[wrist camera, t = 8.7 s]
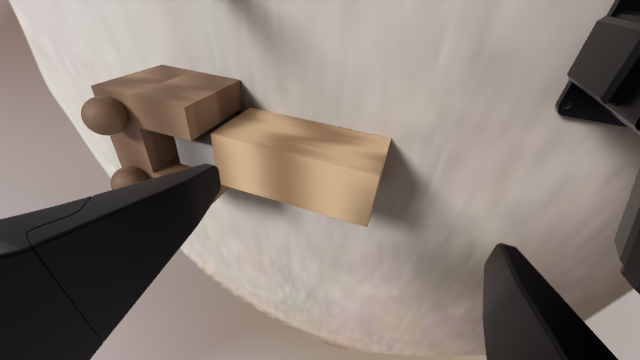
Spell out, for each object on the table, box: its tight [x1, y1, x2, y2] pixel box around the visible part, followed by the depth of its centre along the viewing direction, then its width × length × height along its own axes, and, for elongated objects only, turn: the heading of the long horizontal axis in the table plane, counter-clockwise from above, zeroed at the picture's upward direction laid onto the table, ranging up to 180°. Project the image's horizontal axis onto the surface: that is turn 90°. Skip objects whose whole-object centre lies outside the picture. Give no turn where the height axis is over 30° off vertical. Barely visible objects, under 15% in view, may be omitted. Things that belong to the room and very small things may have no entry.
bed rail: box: [175, 108, 391, 227], centre depth 21 cm, size 14×4×5 cm, turn 85°
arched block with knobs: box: [81, 65, 242, 205], centre depth 21 cm, size 7×8×8 cm
